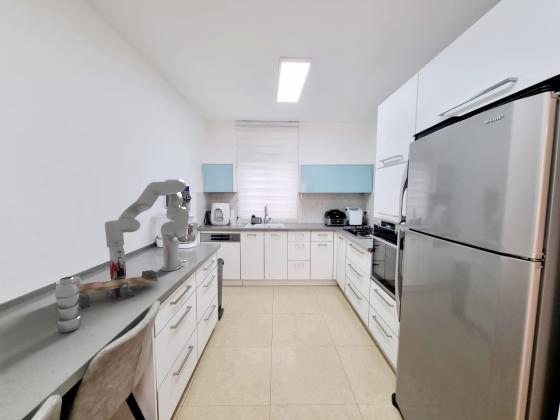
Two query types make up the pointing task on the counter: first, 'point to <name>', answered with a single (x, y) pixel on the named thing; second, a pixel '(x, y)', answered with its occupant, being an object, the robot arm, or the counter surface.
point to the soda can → (113, 270)
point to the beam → (118, 282)
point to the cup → (76, 282)
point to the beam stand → (115, 294)
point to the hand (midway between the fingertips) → (118, 274)
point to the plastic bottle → (68, 305)
